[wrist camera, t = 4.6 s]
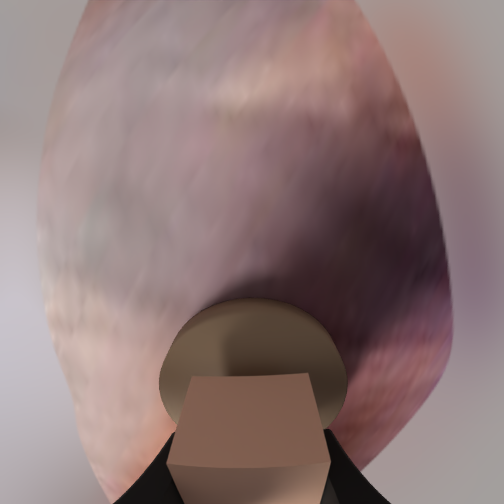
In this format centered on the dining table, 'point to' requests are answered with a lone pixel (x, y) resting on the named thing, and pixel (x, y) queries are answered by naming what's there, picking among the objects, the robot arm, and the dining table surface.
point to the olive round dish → (254, 351)
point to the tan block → (249, 442)
